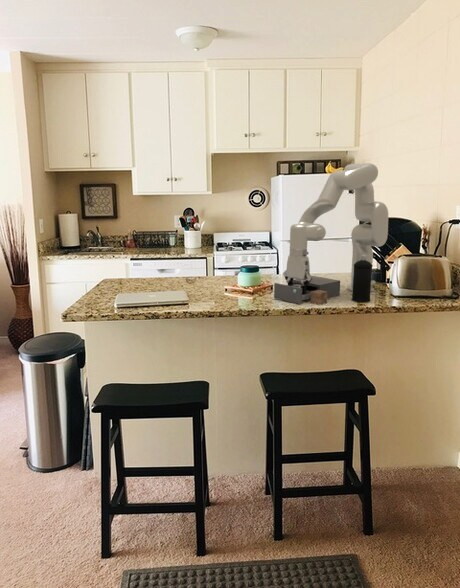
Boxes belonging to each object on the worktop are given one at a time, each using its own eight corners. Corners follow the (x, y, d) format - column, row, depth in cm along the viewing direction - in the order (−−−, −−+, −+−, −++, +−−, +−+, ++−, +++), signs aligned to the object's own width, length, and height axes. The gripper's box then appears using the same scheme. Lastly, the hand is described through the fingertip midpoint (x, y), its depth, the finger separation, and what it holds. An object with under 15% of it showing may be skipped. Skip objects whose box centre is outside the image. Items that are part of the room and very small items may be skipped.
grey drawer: (296, 293, 240) (296, 278, 239) (322, 298, 230) (323, 283, 228) (273, 298, 230) (273, 283, 228) (299, 304, 219) (300, 288, 218)
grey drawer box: (312, 290, 249) (312, 275, 248) (339, 295, 238) (340, 280, 236) (291, 294, 239) (291, 279, 237) (319, 300, 228) (319, 285, 226)
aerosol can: (374, 301, 227) (377, 256, 223) (360, 303, 223) (363, 257, 219) (361, 297, 234) (363, 253, 230) (347, 299, 230) (350, 254, 226)
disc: (295, 287, 233) (295, 283, 233) (308, 289, 228) (308, 286, 228) (285, 289, 228) (285, 285, 228) (297, 292, 223) (297, 288, 223)
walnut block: (317, 300, 227) (318, 289, 226) (326, 302, 223) (327, 291, 222) (310, 302, 223) (310, 291, 222) (319, 304, 220) (320, 293, 219)
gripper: (319, 254, 221) (317, 295, 225) (288, 250, 233) (287, 288, 237) (308, 256, 216) (306, 297, 220) (277, 251, 228) (276, 291, 232)
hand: (296, 292), depth 229 cm, fingers closed on disc, 6 cm apart
